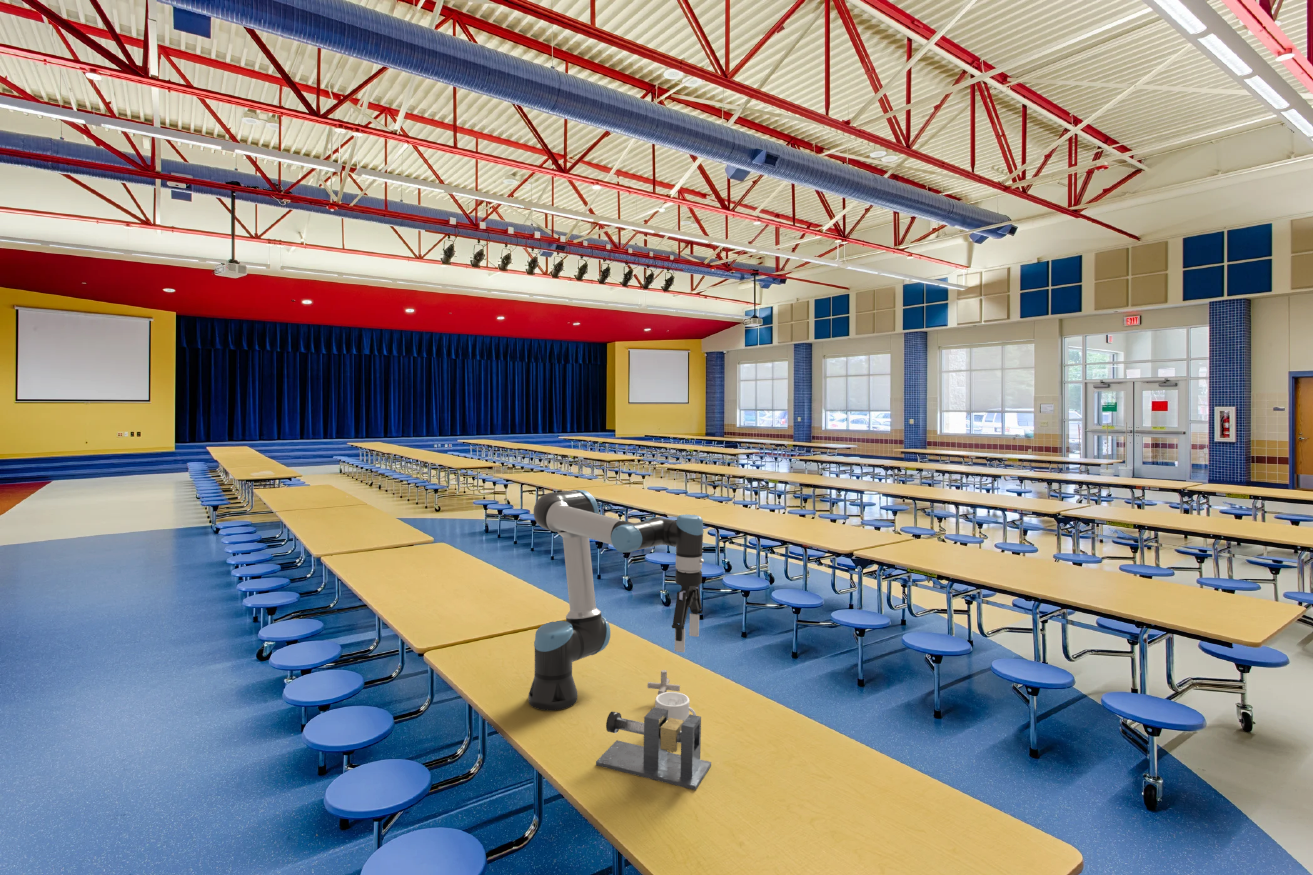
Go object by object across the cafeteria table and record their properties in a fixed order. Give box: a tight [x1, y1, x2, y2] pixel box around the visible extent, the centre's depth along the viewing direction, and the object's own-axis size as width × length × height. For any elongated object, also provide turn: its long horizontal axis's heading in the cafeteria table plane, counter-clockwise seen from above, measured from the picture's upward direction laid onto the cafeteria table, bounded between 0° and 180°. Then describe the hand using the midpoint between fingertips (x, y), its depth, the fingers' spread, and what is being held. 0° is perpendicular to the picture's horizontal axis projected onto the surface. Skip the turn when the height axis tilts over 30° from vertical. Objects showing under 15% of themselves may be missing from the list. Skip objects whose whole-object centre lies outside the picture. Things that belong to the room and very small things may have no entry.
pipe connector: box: [646, 669, 681, 696], centre depth 205 cm, size 10×10×10 cm
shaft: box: [605, 710, 695, 744], centre depth 168 cm, size 23×5×5 cm, turn 67°
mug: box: [654, 691, 697, 721], centre depth 187 cm, size 12×10×9 cm
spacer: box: [661, 718, 684, 753], centre depth 166 cm, size 4×6×6 cm
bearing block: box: [595, 707, 712, 791], centre depth 168 cm, size 27×12×14 cm, turn 67°
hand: (687, 643), depth 187 cm, fingers open, 13 cm apart
